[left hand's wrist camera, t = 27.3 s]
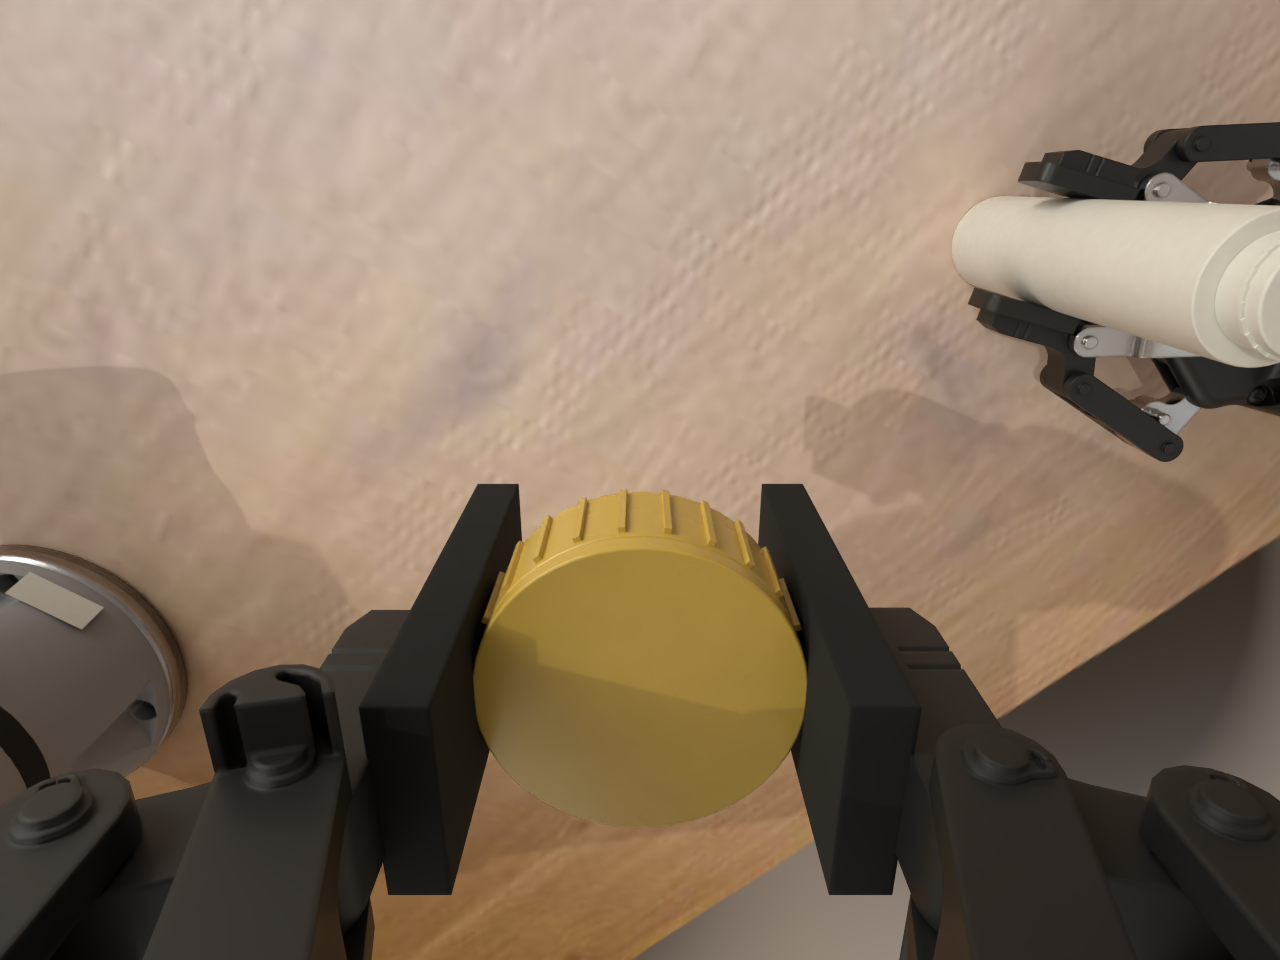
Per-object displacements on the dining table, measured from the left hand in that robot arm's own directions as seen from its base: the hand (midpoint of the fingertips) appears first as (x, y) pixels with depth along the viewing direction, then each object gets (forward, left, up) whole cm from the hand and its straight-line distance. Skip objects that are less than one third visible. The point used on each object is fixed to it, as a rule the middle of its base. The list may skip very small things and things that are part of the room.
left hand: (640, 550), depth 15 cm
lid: (0, 0, +4) cm, 4 cm away
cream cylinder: (+16, -6, -25) cm, 30 cm away
